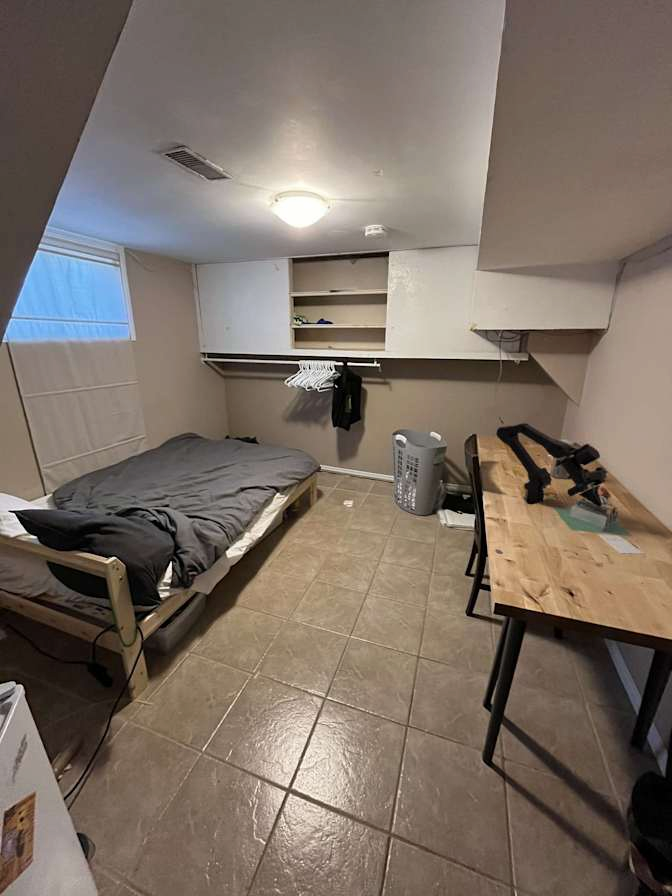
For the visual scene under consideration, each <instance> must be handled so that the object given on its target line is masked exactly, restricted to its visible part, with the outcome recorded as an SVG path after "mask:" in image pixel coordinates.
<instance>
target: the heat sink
mask: <svg viewBox="0 0 672 896" xmlns="http://www.w3.org/2000/svg"><path fill="white" fill-rule="evenodd" d="M580 500H585V501H588V502H591V501H589V500H587V499H586V498H584V497H582V498H581V499H580ZM580 500H575V502H574V504H575V505H574V504H573V505H572V506H571V509H572V510H571V515H569V519H571V520H574V521H576V522H579V523H582V524H584V525H587V526H590V527H592V528H595V529H598V530H600V531H604V530H606V529H607V528H609V527H611V526H613V525H615V524H616V523H618V517H619V513H620V511H619V510H618V508H619V507H618V506H613V508H611V507H608V506H605V505H603V504H602V505H601V506H603V507H606V508H609V509H612V510H614V511H613V513H611V512H612V510H607V513H606V512H603V511H600V510H597V509H594V508H591V507H588V506H586V505H583V504H580ZM591 503H592V502H591Z"/></svg>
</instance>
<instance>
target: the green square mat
mask: <svg viewBox="0 0 672 896" xmlns="http://www.w3.org/2000/svg"><path fill="white" fill-rule="evenodd" d="M552 508H553V510H554V511H556V513H557V514H558V515H559V517H560V518H561V519H562V520H563V521H564V523H565V524H566V525H567V526H568V528H569V530H571V531H577V532H578V531H579V532H587V533H598V534H605V535H619V536H628V537H633V535H631V533H630V532H628V531H627V530H626V529H625V528H624V527H623V526H621V524H620V523H619V522H617V523H616V524H615V525H613V526H611V527H609V528H607V529H606V530H604V531H600V530H598V529H595V528H592V527H590V526H587V525H584V524H582V523H579V522H576V521H574V520H571V519H569V515H571V510H572V508H563V507H552Z"/></svg>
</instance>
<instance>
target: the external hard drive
mask: <svg viewBox="0 0 672 896" xmlns="http://www.w3.org/2000/svg"><path fill="white" fill-rule="evenodd" d="M598 537H600V538H601V539H603V541H605V542H606V543H607V544H608V545H610V546H611V547H612V548H614V549H615V550H616V552H618V553H619V554H622V555H623V554H626V555H627V554H629V555H644V556H643V558H646V555H645V553H644V552H643V551H641V550H640V549H639V548H637V547H636V546H634V545H633V544H632V543H630V542H629V541H627V540H626V539H624V538H623V537H621V535H615V534H598Z"/></svg>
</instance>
